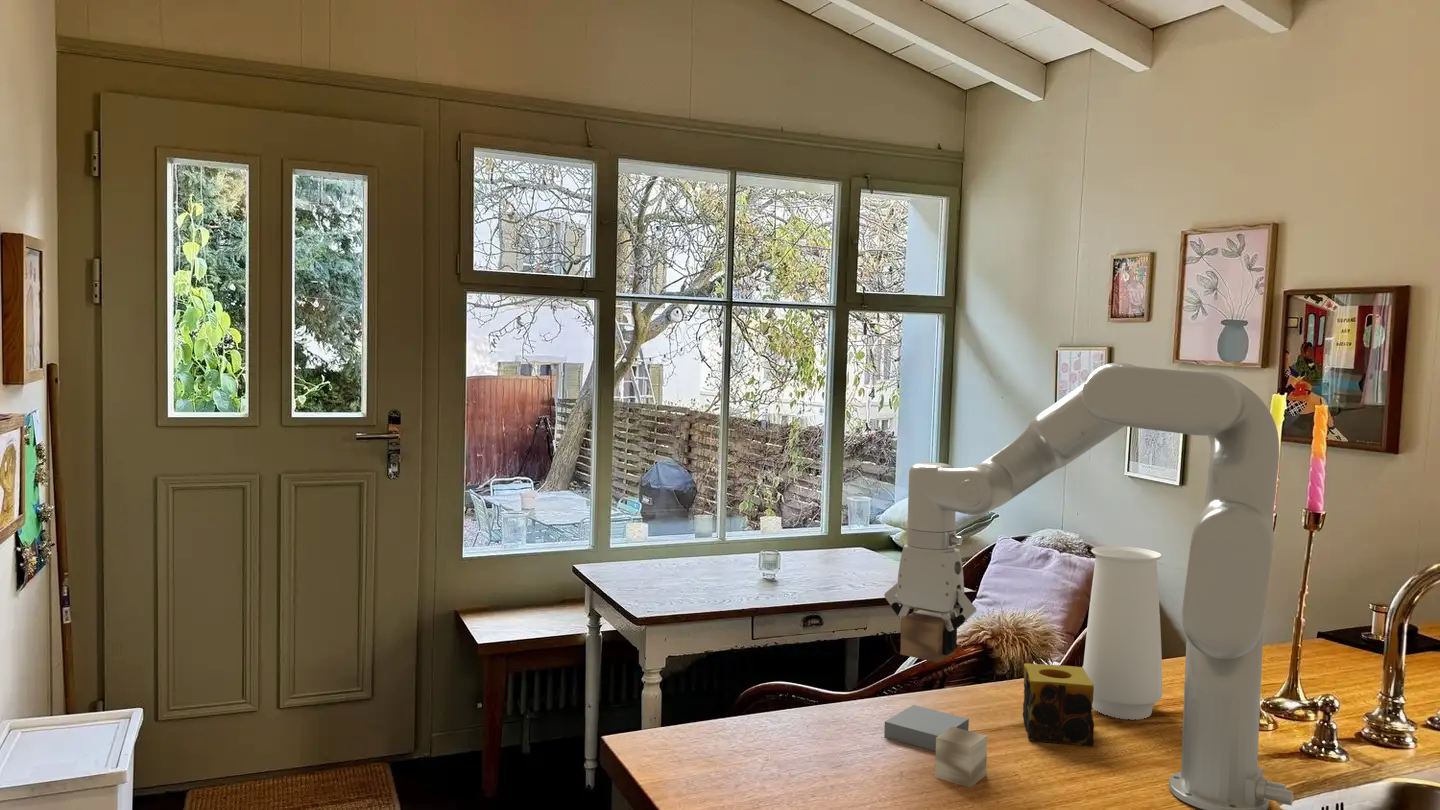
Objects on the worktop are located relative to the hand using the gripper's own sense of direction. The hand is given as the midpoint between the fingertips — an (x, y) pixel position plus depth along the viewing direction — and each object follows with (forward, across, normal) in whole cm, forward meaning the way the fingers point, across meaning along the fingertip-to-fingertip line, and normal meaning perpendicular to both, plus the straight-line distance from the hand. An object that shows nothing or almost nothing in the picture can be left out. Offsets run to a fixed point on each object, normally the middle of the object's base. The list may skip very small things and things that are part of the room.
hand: (927, 647), depth 159 cm
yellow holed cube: (+15, -16, -15) cm, 26 cm away
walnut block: (+1, 0, 0) cm, 1 cm away
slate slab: (+14, 0, 0) cm, 14 cm away
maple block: (+14, -11, +11) cm, 21 cm away
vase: (+15, -21, -33) cm, 42 cm away
